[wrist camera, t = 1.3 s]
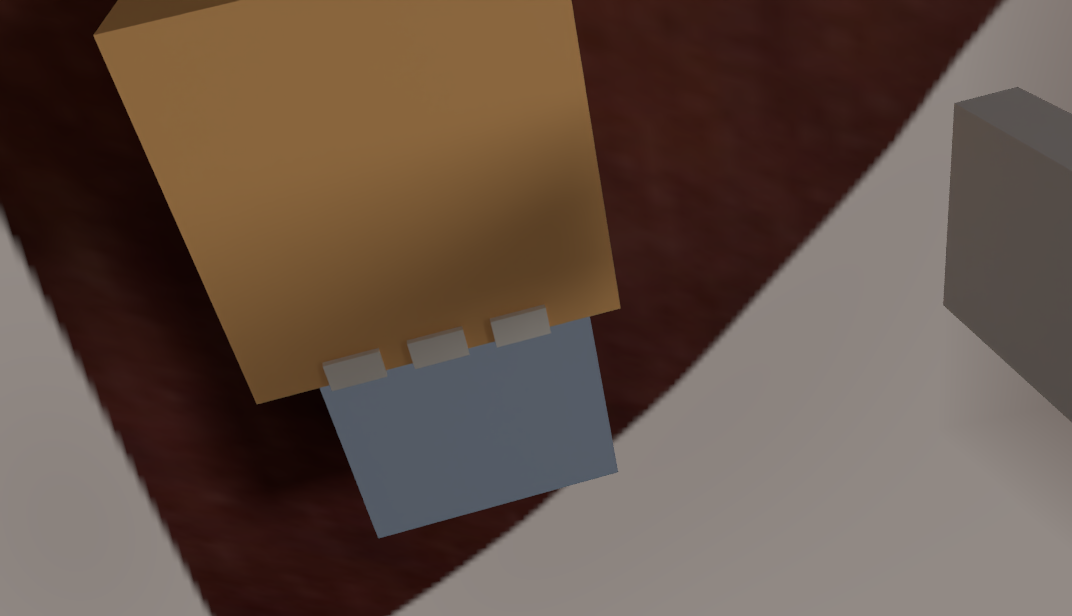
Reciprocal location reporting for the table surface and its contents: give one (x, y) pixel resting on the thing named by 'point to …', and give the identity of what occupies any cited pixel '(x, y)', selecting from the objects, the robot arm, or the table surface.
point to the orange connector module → (370, 174)
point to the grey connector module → (476, 429)
